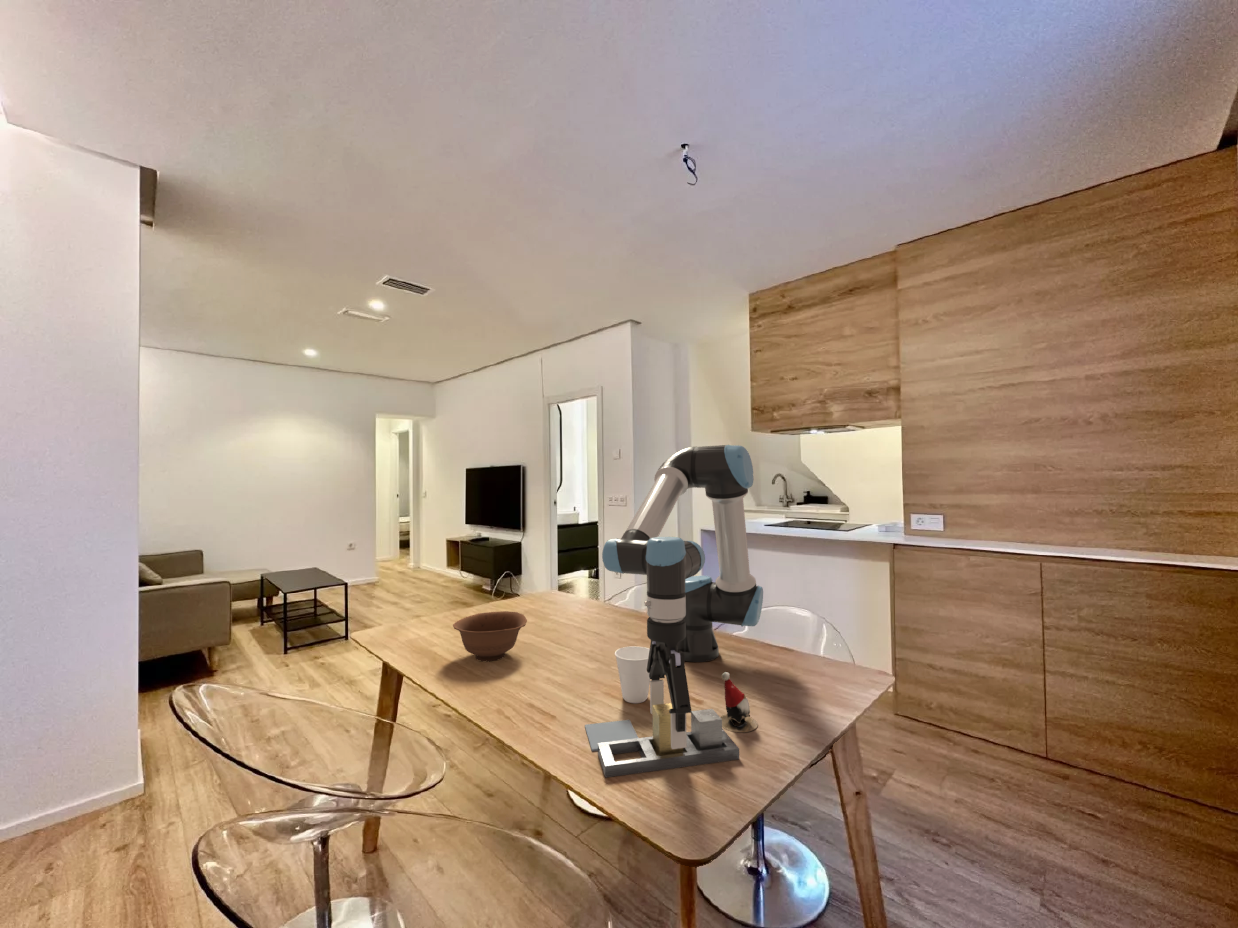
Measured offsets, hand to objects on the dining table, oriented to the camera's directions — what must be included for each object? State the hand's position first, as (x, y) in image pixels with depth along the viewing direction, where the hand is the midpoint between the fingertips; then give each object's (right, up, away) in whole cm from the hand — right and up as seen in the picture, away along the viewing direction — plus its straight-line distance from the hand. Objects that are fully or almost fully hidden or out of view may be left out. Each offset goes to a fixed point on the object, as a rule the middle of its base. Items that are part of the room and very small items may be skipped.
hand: (667, 728), depth 94 cm
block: (+8, -5, +2) cm, 10 cm away
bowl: (-49, -8, +55) cm, 74 cm away
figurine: (+17, -6, +13) cm, 22 cm away
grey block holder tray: (0, -5, 0) cm, 5 cm away
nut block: (0, -5, 0) cm, 5 cm away
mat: (-11, -6, +8) cm, 14 cm away
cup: (-5, -6, +25) cm, 27 cm away
